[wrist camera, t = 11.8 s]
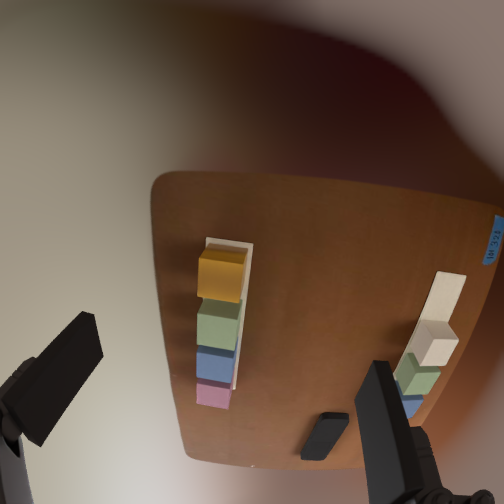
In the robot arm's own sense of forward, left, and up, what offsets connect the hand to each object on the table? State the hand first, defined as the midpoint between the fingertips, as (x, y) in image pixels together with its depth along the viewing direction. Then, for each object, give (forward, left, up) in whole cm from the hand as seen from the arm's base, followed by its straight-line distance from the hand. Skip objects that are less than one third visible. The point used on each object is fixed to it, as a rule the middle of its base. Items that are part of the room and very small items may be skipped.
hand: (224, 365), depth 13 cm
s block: (+5, 0, -21) cm, 21 cm away
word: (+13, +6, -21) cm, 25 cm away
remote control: (+19, +34, -21) cm, 44 cm away
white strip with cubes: (-4, +28, -21) cm, 35 cm away
